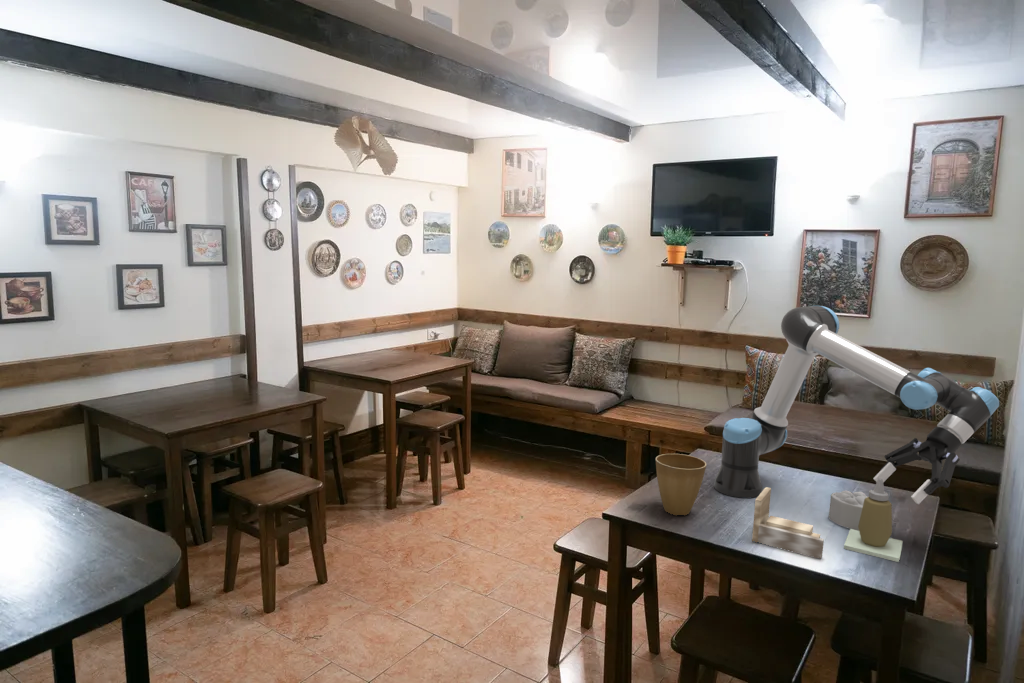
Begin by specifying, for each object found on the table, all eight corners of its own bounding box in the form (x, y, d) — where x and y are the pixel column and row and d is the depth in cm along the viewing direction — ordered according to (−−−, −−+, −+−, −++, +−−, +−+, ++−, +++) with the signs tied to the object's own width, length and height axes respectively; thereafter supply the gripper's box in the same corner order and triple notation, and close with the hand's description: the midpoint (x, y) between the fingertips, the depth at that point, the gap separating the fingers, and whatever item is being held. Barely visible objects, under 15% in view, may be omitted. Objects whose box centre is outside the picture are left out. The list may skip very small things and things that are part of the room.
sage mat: (843, 548, 178) (844, 545, 177) (850, 532, 188) (850, 528, 188) (899, 562, 171) (899, 558, 170) (902, 544, 181) (902, 540, 181)
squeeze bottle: (882, 537, 183) (889, 475, 180) (895, 550, 175) (903, 485, 173) (851, 535, 184) (858, 473, 181) (864, 548, 176) (871, 483, 173)
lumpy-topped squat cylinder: (869, 534, 187) (873, 505, 186) (822, 520, 196) (825, 492, 195) (881, 524, 194) (884, 496, 193) (835, 511, 204) (838, 484, 202)
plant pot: (694, 525, 190) (698, 472, 188) (645, 513, 198) (648, 462, 196) (708, 508, 203) (712, 458, 201) (662, 498, 211) (665, 450, 208)
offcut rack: (751, 541, 181) (755, 499, 179) (762, 526, 191) (765, 487, 189) (821, 559, 171) (825, 515, 169) (828, 542, 181) (832, 501, 179)
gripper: (997, 459, 167) (940, 518, 166) (920, 431, 191) (869, 483, 190) (982, 439, 165) (924, 499, 164) (906, 414, 189) (855, 466, 189)
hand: (894, 491), depth 177 cm, fingers open, 13 cm apart
